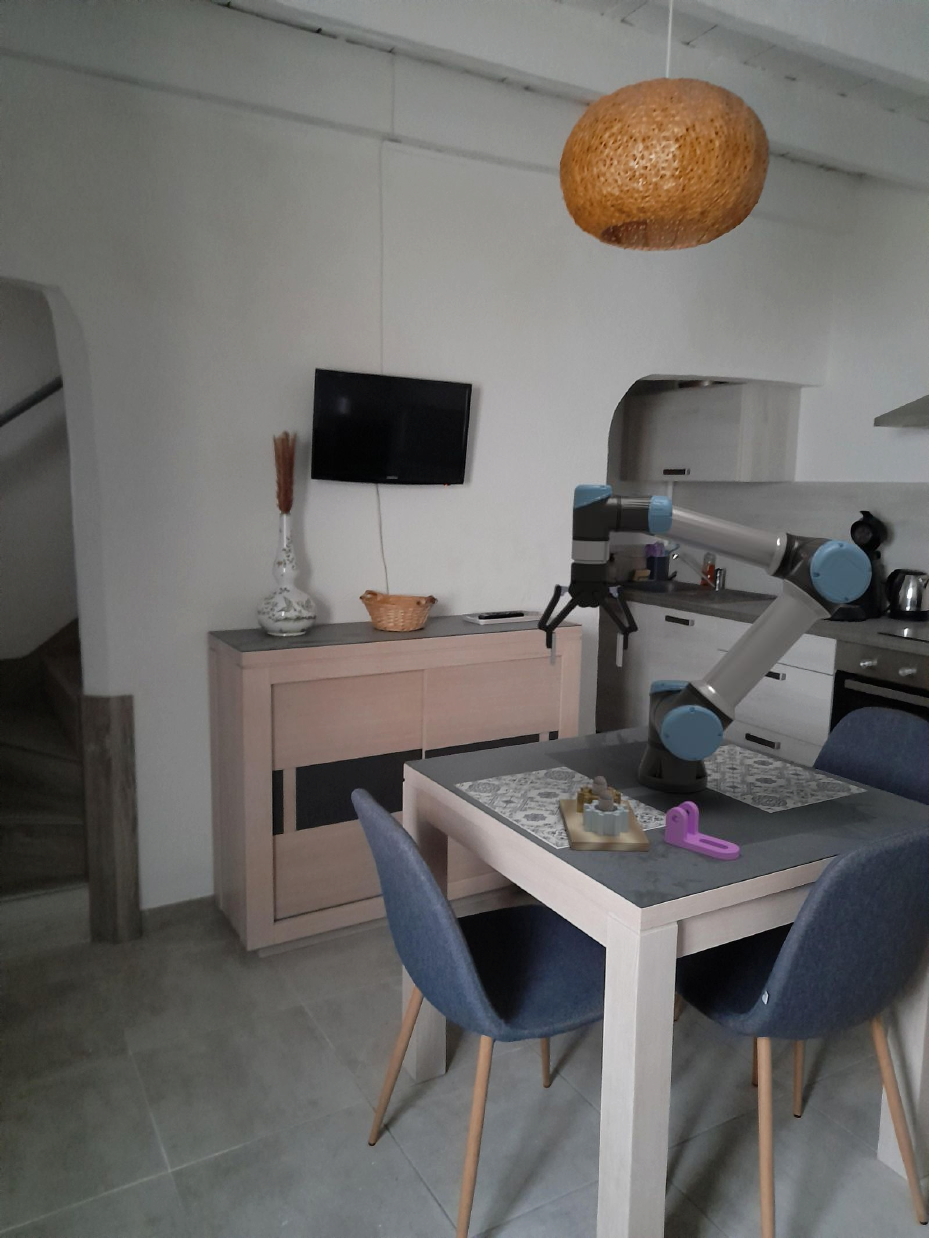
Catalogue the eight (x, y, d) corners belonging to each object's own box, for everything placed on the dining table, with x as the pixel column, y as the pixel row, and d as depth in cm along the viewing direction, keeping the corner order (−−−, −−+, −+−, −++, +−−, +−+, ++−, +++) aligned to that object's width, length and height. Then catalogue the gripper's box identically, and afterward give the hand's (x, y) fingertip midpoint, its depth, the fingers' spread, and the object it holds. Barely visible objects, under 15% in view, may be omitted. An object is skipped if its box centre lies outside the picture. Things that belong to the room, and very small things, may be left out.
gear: (623, 820, 170) (624, 800, 170) (630, 836, 162) (631, 815, 161) (580, 819, 170) (581, 799, 170) (586, 835, 162) (587, 815, 161)
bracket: (664, 842, 164) (666, 806, 163) (679, 834, 168) (681, 799, 167) (730, 863, 155) (732, 825, 154) (744, 854, 159) (746, 817, 158)
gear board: (627, 807, 181) (629, 766, 180) (649, 850, 160) (651, 804, 158) (559, 806, 181) (560, 764, 180) (571, 849, 160) (573, 802, 158)
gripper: (647, 561, 182) (642, 662, 185) (526, 559, 182) (524, 660, 185) (655, 564, 175) (650, 669, 178) (529, 562, 175) (526, 667, 178)
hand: (585, 665), depth 182 cm, fingers open, 13 cm apart
